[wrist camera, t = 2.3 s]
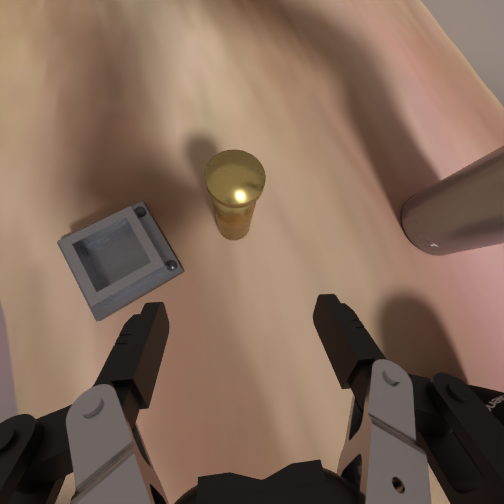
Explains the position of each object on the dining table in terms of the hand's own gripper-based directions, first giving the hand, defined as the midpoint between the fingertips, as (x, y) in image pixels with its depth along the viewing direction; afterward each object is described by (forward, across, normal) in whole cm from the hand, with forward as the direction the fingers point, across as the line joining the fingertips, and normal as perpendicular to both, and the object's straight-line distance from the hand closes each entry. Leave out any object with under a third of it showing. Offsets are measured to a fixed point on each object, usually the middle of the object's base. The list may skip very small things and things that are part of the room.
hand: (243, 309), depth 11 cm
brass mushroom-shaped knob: (+16, 0, +3) cm, 17 cm away
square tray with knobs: (+14, +13, +6) cm, 20 cm away
